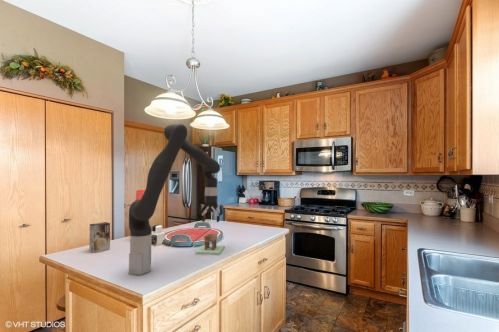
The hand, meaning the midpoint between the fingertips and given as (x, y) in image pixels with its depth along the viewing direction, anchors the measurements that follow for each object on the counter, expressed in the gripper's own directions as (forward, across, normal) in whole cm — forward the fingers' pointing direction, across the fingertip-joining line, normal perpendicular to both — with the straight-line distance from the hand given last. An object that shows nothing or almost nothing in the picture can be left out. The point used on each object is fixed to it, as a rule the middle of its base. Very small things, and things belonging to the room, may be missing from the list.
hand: (210, 221), depth 150 cm
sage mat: (+17, 0, 0) cm, 17 cm away
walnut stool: (+16, 0, 0) cm, 16 cm away
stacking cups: (+18, +54, -17) cm, 59 cm away
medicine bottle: (+18, +39, -10) cm, 44 cm away
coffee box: (+18, +66, +8) cm, 69 cm away
